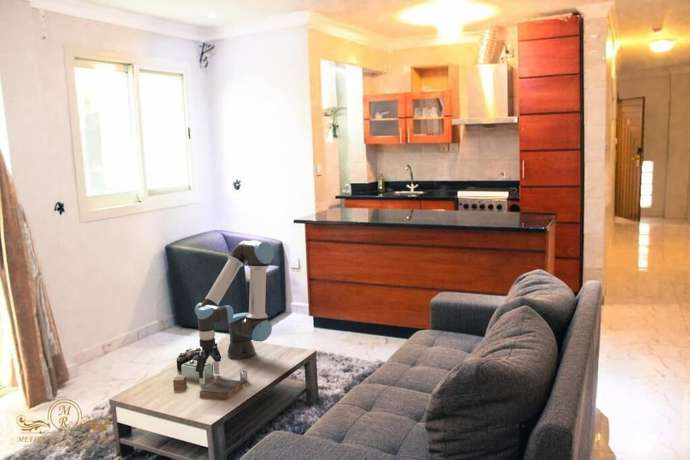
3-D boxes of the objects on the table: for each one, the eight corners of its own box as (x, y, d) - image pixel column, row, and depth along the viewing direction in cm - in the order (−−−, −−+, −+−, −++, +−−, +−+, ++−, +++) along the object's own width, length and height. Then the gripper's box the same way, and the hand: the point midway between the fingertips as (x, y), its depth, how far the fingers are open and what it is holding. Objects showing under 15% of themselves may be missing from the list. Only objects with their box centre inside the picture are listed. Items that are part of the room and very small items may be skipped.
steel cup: (242, 380, 287) (241, 370, 286) (249, 381, 285) (248, 371, 285) (239, 383, 283) (238, 373, 283) (245, 383, 282) (245, 374, 281)
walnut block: (176, 385, 283) (175, 376, 283) (186, 385, 283) (185, 375, 283) (173, 389, 278) (173, 380, 278) (184, 389, 278) (183, 379, 278)
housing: (193, 372, 300) (192, 357, 299) (213, 376, 293) (212, 361, 292) (182, 378, 293) (180, 362, 292) (203, 382, 286) (201, 366, 285)
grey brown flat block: (217, 383, 283) (217, 378, 283) (242, 386, 279) (242, 380, 279) (199, 396, 268) (199, 390, 268) (226, 399, 264) (225, 393, 264)
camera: (188, 374, 297) (186, 356, 296) (175, 371, 303) (174, 353, 302) (211, 365, 310) (210, 347, 309) (198, 362, 316) (197, 344, 315)
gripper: (213, 330, 298) (216, 369, 301) (186, 345, 275) (189, 387, 277) (226, 331, 296) (228, 370, 298) (199, 346, 272) (202, 389, 275)
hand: (209, 379), depth 288 cm, fingers open, 13 cm apart
